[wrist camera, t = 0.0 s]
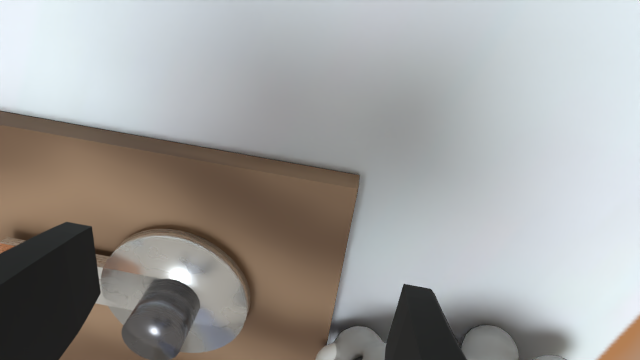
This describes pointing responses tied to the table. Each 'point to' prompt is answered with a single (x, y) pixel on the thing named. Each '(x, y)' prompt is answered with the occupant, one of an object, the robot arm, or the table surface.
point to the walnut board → (187, 223)
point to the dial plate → (178, 265)
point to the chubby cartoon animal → (478, 347)
